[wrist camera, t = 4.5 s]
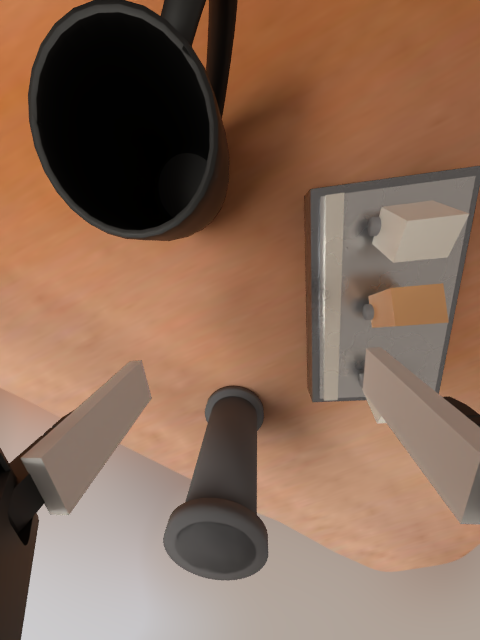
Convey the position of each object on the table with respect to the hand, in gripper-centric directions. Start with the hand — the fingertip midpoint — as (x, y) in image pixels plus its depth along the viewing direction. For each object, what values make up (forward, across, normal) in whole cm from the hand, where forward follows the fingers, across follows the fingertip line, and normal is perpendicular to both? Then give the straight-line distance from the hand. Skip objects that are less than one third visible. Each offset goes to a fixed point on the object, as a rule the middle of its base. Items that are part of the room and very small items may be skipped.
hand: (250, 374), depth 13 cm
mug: (+9, -3, +14) cm, 17 cm away
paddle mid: (+5, +10, +2) cm, 12 cm away
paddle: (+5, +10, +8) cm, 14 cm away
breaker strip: (+9, +10, +2) cm, 14 cm away
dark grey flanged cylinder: (+9, -3, -10) cm, 14 cm away
